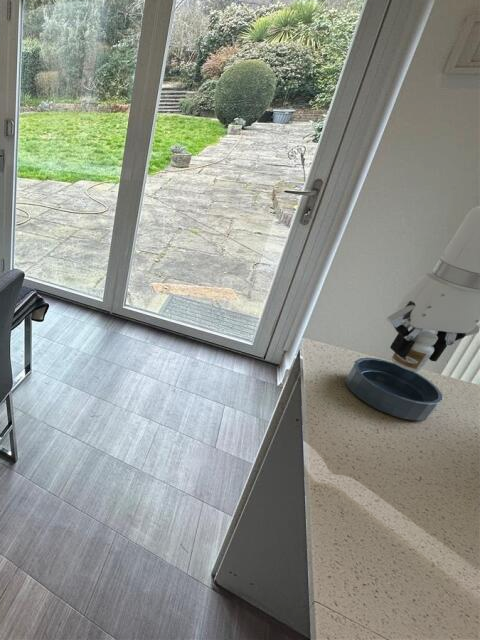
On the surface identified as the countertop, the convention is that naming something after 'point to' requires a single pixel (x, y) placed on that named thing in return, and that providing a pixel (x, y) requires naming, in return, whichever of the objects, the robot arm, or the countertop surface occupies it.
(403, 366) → the pill bottle
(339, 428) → the countertop surface
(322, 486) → the countertop surface
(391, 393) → the bowl
